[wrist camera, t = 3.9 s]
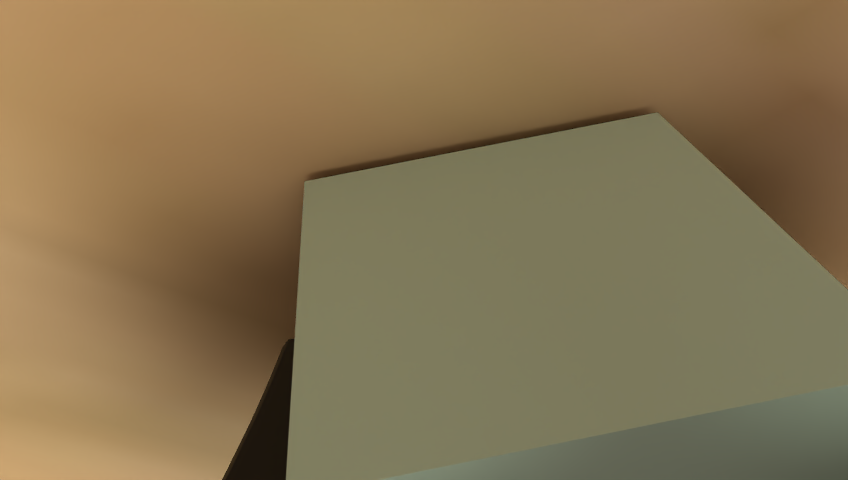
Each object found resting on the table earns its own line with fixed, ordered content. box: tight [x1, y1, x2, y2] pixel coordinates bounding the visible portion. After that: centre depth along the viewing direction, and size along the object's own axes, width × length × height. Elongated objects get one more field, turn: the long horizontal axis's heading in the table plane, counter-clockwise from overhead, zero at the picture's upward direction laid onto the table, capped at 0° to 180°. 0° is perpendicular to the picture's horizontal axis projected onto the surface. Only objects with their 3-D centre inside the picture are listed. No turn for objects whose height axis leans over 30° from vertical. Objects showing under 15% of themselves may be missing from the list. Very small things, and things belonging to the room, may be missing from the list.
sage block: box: [286, 112, 848, 480], centre depth 8 cm, size 5×5×5 cm
